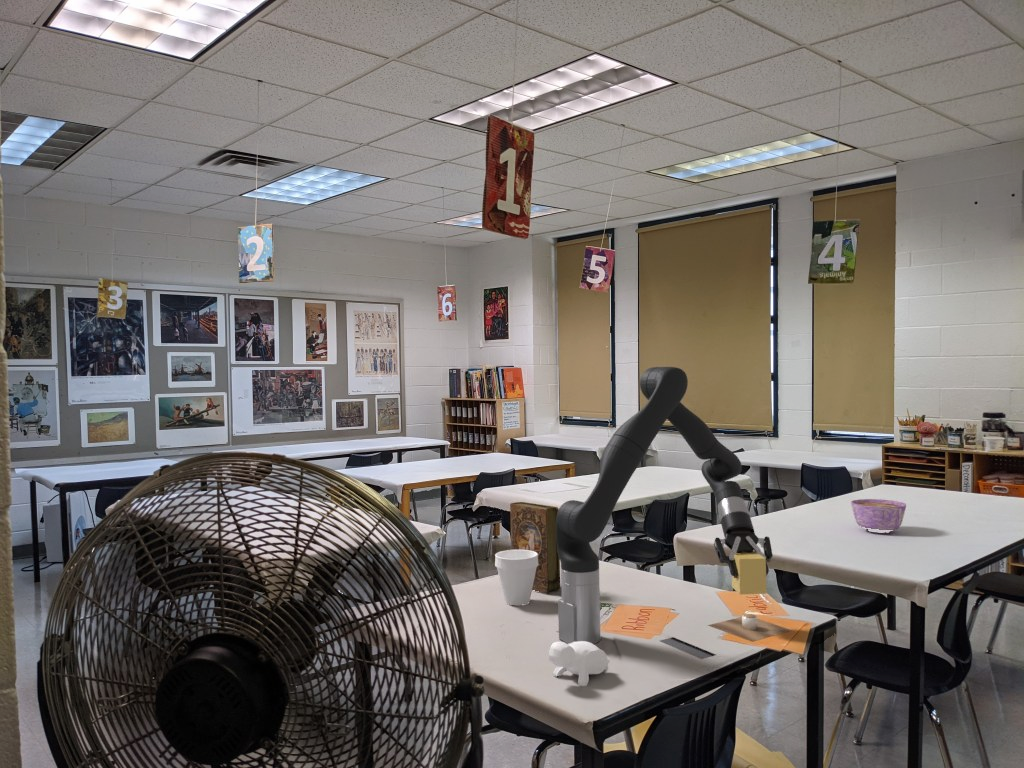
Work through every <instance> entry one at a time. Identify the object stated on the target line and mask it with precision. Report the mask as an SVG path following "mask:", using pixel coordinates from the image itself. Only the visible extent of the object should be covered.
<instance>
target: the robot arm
mask: <svg viewBox="0 0 1024 768" xmlns="http://www.w3.org/2000/svg"><path fill="white" fill-rule="evenodd" d="M639 379H640V380H639V389H640V391H641V393H642V395H643V396H644V398H646V400H647V401H646V404H644V406H643V407H642V408H641V409H640V410H639V411H638V412H636V413H635V414H634V415H632V416H631V417H630V418H629V419H627V420H626V421H625V422H623V423H622V424H621V425H620V426H619V427H618V428H617V429H616V430H615V431H614V433H613V434H612V436H611V438H610V439H609V441H608V442H607V444H606V446H605V447H604V449H603V452H602V454H601V457H600V465H599V475H598V478H597V481H596V484H595V486H594V488H593V489H592V491H591V492H590V494H589V496H587V498H586V500H584V501H579V500H574V499H573V500H571V499H570V500H567V501H564V503H562V504H561V505H560V506H559V507H558V509H559V510H558V513H557V516H556V539H557V552H558V556H559V559H560V589H561V594H560V595H561V599H558V600H557V601H558V602H557V606H558V607H557V609H558V610H557V613H558V639H559V640H561V642H565V643H566V644H569V643H573V642H578V641H587V642H590V643H592V644H594V645H595V644H598V643H599V642H600V641H601V597H600V594H601V593H600V559H599V556H598V554H597V553H596V552H595V551H594V550H593V548H592V547H591V543H592V542H594V541H596V540H598V538H599V537H600V536H601V535H602V534H603V532H604V530H605V528H606V526H607V524H608V522H609V520H610V518H611V515H612V513H614V509H615V507H616V505H617V503H618V501H619V499H620V497H621V495H622V494H623V492H624V490H625V488H627V487H626V486H627V485H628V483H629V482H630V479H631V478H632V476H633V474H634V473H635V471H636V470H637V468H638V467H639V465H640V463H642V461H643V459H644V457H645V455H646V453H647V451H648V450H649V448H650V446H651V445H652V443H653V441H654V440H655V438H656V437H657V435H658V433H659V432H660V430H661V429H662V427H663V425H664V424H665V422H666V421H669V423H671V425H672V426H673V427H674V428H675V429H676V431H677V432H678V433H679V434H680V435H681V437H683V439H684V441H685V442H686V443H687V444H688V447H690V449H691V451H692V452H693V453H694V454H695V456H696V457H697V458H698V459H700V460H702V461H703V460H704V462H703V463H702V465H701V473H702V477H703V478H704V479H705V480H706V482H707V484H708V485H709V487H710V489H711V490H712V492H713V494H714V498H715V502H716V505H717V511H718V518H719V522H720V524H721V530H722V533H723V535H724V538H720V537H715V539H714V542H713V547H714V549H715V552H716V555H717V558H718V561H719V563H721V564H724V563H725V564H727V565H728V569H729V573H730V575H731V577H732V576H734V578H737V577H738V570H737V566H736V562H735V561H734V555H736V553H756V554H760V555H761V556H763V557H764V558H766V577H767V576H768V575H769V573H770V572H769V571H770V569H769V566H768V563H770V562H771V560H772V558H773V550H772V544H771V540H770V538H771V537H769V536H766V535H765V537H764V538H763V537H758V536H757V534H756V533H755V528H754V526H753V522H752V518H751V514H750V512H749V508H748V506H747V504H746V501H745V498H744V495H743V491H742V488H741V486H740V484H739V483H738V482H737V481H734V480H731V479H733V478H735V477H738V476H739V475H740V474H741V472H742V470H743V469H742V468H743V465H742V462H741V460H740V459H739V457H738V456H737V455H736V454H735V453H734V452H733V451H732V450H731V449H729V448H728V447H726V446H725V445H723V443H721V441H719V439H718V438H716V435H714V433H713V432H712V430H711V429H710V427H709V426H708V425H707V424H706V423H705V421H703V420H702V419H701V418H700V417H699V416H698V415H696V414H695V413H693V411H691V410H690V409H689V408H687V407H686V406H685V405H684V404H683V403H682V402H681V401H682V399H683V398H684V396H685V394H686V392H687V389H688V384H689V381H688V376H687V373H686V371H684V370H683V369H681V368H680V367H676V366H653V367H650V368H647V369H646V370H645V371H643V372H642V374H641V376H640V378H639ZM758 544H760V547H761V549H763V552H762V550H761V549H760V547H759V545H758ZM724 546H727V548H728V549H730V554H729V555H727V554H726V552H725V548H724Z"/></svg>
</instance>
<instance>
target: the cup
mask: <svg viewBox="0 0 1024 768" xmlns="http://www.w3.org/2000/svg"><path fill="white" fill-rule="evenodd" d="M494 556H495V559H494V561H495V562H494V565H495V567H496V568H497V569H496V570H497V573H498V577H499V582H500V585H501V590H502V594H503V597H504V602H506V603H507V604H506V603H505V604H506V605H508V604H511V605H510V606H512V605H522V604H526V605H528V604H529V603H530V602H529V601H530V600H531V596H532V587H533V582H534V578H535V573H536V568H537V566H538V554H537V553H536V552H534V551H530V550H511V549H507V550H502V551H501V550H500V551H498V552H496V553H495V554H494ZM528 602H529V603H528ZM527 603H528V604H527ZM522 606H523V605H522Z"/></svg>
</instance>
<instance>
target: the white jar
mask: <svg viewBox="0 0 1024 768" xmlns="http://www.w3.org/2000/svg"><path fill="white" fill-rule="evenodd" d="M741 617H742V628H743V629H746V630H756V629H757V619H758V616H757V615H755V614H752V613H745V614H742V615H741Z"/></svg>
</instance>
